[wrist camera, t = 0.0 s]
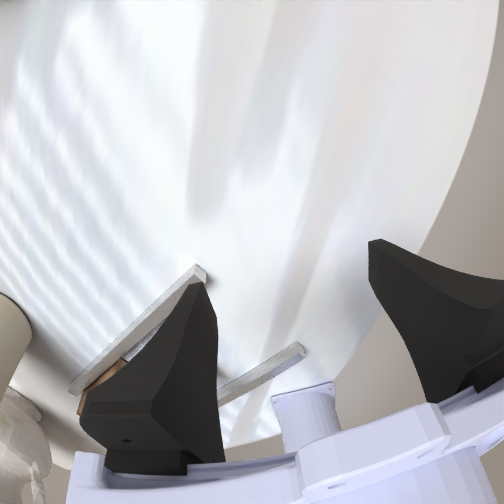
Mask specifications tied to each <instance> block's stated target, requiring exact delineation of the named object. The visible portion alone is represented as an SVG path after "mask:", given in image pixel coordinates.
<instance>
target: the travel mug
mask: <svg viewBox="0 0 504 504" xmlns="http://www.w3.org/2000/svg"><path fill="white" fill-rule="evenodd" d="M31 339H32V330H31V327H30V324H29V322H28V320H27V319H26V317H25V316H24V314H23V313H22V312H21V310H20V309H19V308H18V307H17V306H16V305H15V304H14V303H13V302H12V301H11V300H9V299H8V298H7V297H5V296H4V295H2V294H0V403H1V401H2V398H3V396H4V394H5V391H6V389H7V387H8V385H9V383H10V380H11V378H12V376H13V374H14V372H15V370H16V368H17V366H18V364H19V362H20V360H21V358H22V356H23V354H24V352H25V351H26V349H27V347H28V345H29V343H30V341H31Z"/></svg>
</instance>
